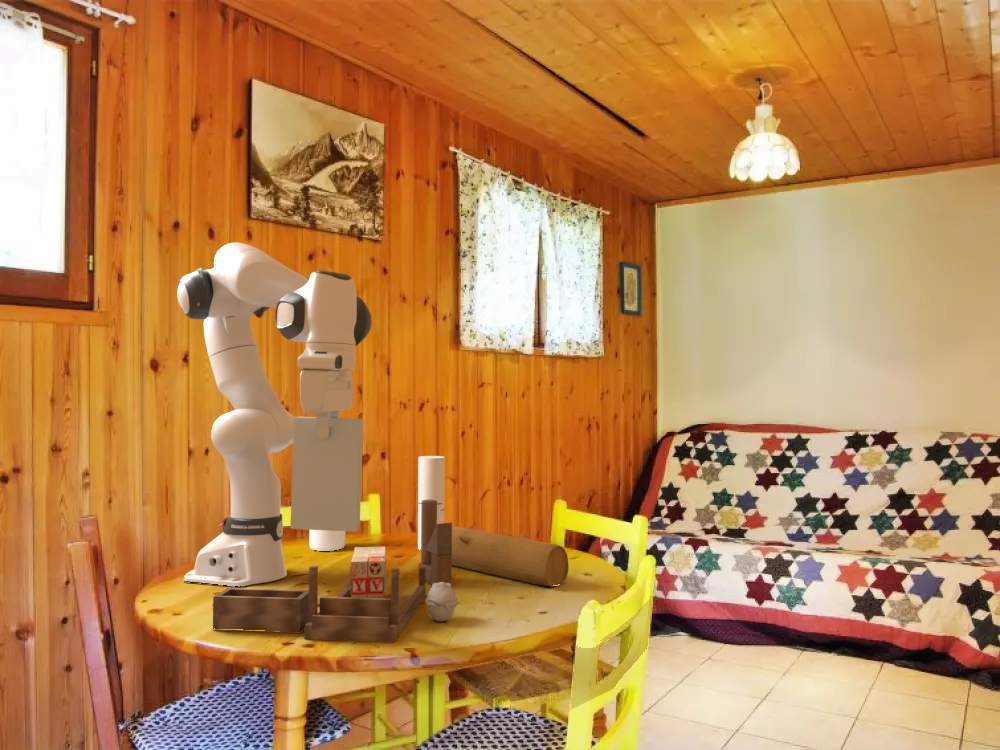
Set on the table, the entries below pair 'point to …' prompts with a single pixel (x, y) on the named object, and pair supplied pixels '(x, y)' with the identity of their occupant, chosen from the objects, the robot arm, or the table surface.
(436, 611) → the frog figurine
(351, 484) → the sheet
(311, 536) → the wine bottle
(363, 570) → the stack of blocks
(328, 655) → the table surface
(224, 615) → the holder
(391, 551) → the table surface
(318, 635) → the rack
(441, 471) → the cylindrical container
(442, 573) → the brown wedge with rod
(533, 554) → the log
